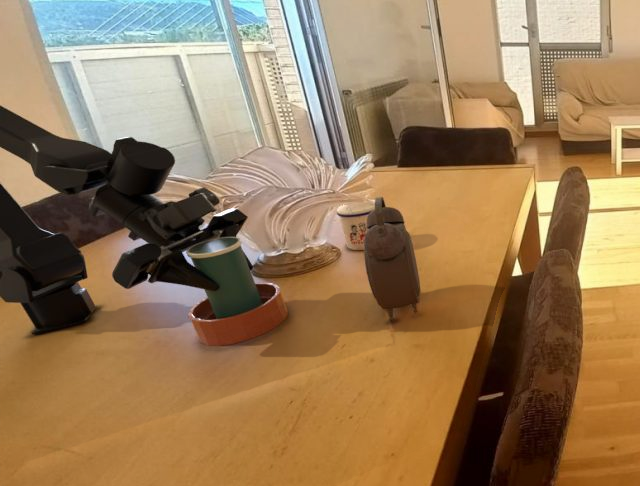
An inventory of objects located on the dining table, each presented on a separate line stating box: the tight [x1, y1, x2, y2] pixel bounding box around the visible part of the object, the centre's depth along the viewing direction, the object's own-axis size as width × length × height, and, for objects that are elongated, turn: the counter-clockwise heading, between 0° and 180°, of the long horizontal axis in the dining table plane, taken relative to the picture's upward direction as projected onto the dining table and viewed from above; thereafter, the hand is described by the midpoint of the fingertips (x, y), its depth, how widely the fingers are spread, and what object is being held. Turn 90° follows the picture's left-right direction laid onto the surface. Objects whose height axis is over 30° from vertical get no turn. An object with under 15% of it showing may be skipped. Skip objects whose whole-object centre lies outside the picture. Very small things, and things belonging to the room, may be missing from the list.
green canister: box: [185, 236, 263, 319], centre depth 76 cm, size 7×7×12 cm
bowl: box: [187, 282, 289, 347], centre depth 78 cm, size 12×12×5 cm
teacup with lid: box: [336, 198, 375, 251], centre depth 109 cm, size 12×9×12 cm
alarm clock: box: [363, 196, 421, 323], centre depth 80 cm, size 15×7×20 cm, turn 23°
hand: (235, 278), depth 76 cm, fingers closed on green canister, 6 cm apart
